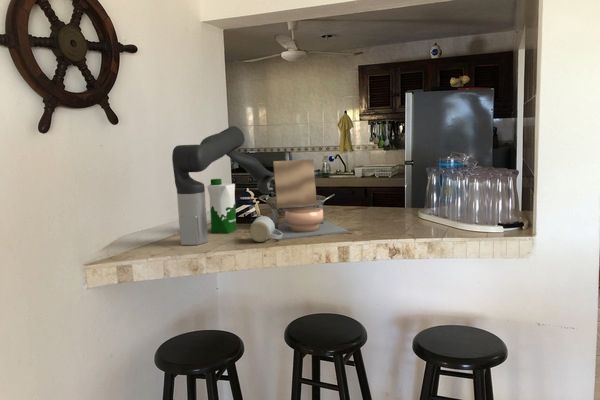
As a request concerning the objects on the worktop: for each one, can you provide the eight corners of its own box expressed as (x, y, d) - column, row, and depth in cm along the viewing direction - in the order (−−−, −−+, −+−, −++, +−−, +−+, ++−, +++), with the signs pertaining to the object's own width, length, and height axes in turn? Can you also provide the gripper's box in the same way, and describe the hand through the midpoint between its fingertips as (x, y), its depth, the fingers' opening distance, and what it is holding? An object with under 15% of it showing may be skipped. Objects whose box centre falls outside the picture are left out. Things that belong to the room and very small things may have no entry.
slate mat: (260, 227, 180) (260, 225, 180) (321, 220, 188) (321, 219, 188) (279, 240, 156) (279, 238, 156) (348, 232, 164) (348, 230, 164)
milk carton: (219, 228, 180) (216, 178, 177) (240, 229, 177) (237, 178, 174) (207, 233, 171) (204, 180, 169) (229, 234, 168) (226, 180, 166)
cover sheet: (277, 209, 173) (277, 209, 174) (317, 206, 178) (316, 206, 179) (273, 161, 173) (273, 161, 174) (313, 159, 178) (312, 159, 179)
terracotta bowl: (321, 232, 162) (321, 213, 161) (282, 233, 164) (282, 213, 163) (325, 225, 176) (324, 207, 175) (289, 225, 177) (288, 207, 177)
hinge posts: (272, 229, 174) (271, 208, 173) (321, 224, 181) (320, 204, 180) (273, 230, 173) (272, 209, 172) (323, 225, 179) (322, 205, 178)
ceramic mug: (249, 243, 152) (246, 221, 151) (254, 238, 160) (252, 216, 159) (280, 241, 150) (278, 218, 149) (284, 236, 159) (282, 214, 158)
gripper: (262, 178, 197) (273, 181, 180) (291, 176, 201) (305, 179, 185) (263, 195, 198) (274, 200, 181) (292, 193, 202) (305, 197, 186)
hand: (289, 189), depth 183 cm, fingers closed
